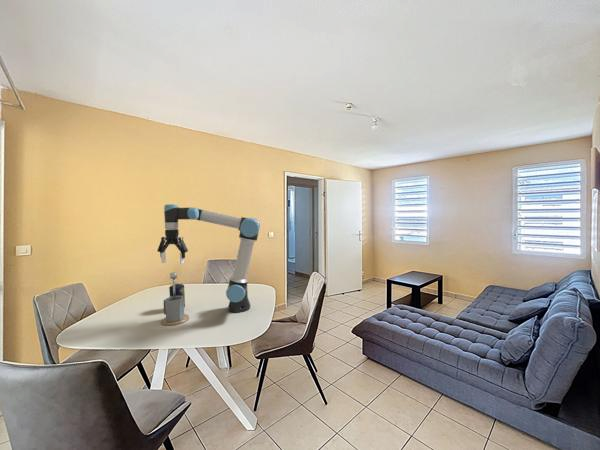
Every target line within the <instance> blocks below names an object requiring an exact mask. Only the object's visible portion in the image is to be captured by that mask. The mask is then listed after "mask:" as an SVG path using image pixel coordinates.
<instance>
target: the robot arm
mask: <svg viewBox="0 0 600 450" xmlns="http://www.w3.org/2000/svg"><path fill="white" fill-rule="evenodd" d="M163 207H164V208H163V209H164V211H163V214H164V229H165V230H164V235H165V236H162V237H161V238H160V243H159V246H158V248H157V252H158V253H160V260H161V264H166V263H167V259H166V257H167V256H166V250H167V248H168V247H169V246H170V245H174V246H176V249H178V251H180V253H179V260H180V265H182V264H185V258H186V253H188V252H189V250H188V248H187V245H186V243H185V241H184V237H183V236H179V234H180V233H179V220H186V221H187V220H191V221H193V220H196V221H200V222H204V223H205V222H206V223H209V224H213V225H219V226H224V227H228V228H233V229H236V230H238V231H240V232H239V234H238V238H239V239H240V242H239V245H238V251H237V255H236V261H235V265H234V270H233V273H232V275H231V276H230V277H229V281H228V286H227V289H226V291H225V295H226V298H227V300H229V303H228V308H227V309H228V311H229V312H230V313H231V312H232V313H243V312H247V311H249V310H250V309H251V302H250V299H249V297H248V295H249V294H248V282H249V280H248V271H249V267H250V263H251V257H252V253H253V249H254V244H255V242H256V241H257V240H258V237H259V232H260V229H261V225H260V221H259V220H258V219H256V218H253V217H243V216H241V217H237V216H232V215H228V214H223V213H218V212H214V211H209V210H204V209H200V208H198V207H195V206H194V207H179V206H178V204H175V203H174V204H164V206H163Z"/></svg>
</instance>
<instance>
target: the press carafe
mask: <svg viewBox="0 0 600 450" xmlns="http://www.w3.org/2000/svg"><path fill="white" fill-rule="evenodd" d="M175 297H176V298H180V299H179V300H174V301H169V300H170V299H173V296H172V297H170V296H169V297H167V298H165V299H163V314H164V315H165V317H164V318H162V319H161V320H160V325H161V326H165V327H171V326H173V327H174V326H178V325H181V324H184V323H186V322H187V321H189V319H190V316H189V315H188V314H186V313H185V307H184V298H183V296H175Z"/></svg>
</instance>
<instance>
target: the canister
mask: <svg viewBox="0 0 600 450" xmlns="http://www.w3.org/2000/svg"><path fill="white" fill-rule="evenodd" d="M185 295H186V294H185V285H184V284H183V283H175V296H183V298H184V308H185V306H186V299H185V298H186V297H185ZM172 296H173V284H171V285H170V286H169V297H172Z"/></svg>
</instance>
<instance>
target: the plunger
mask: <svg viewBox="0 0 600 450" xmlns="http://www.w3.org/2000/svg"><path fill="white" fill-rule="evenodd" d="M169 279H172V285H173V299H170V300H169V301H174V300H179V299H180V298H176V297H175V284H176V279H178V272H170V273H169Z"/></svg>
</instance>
